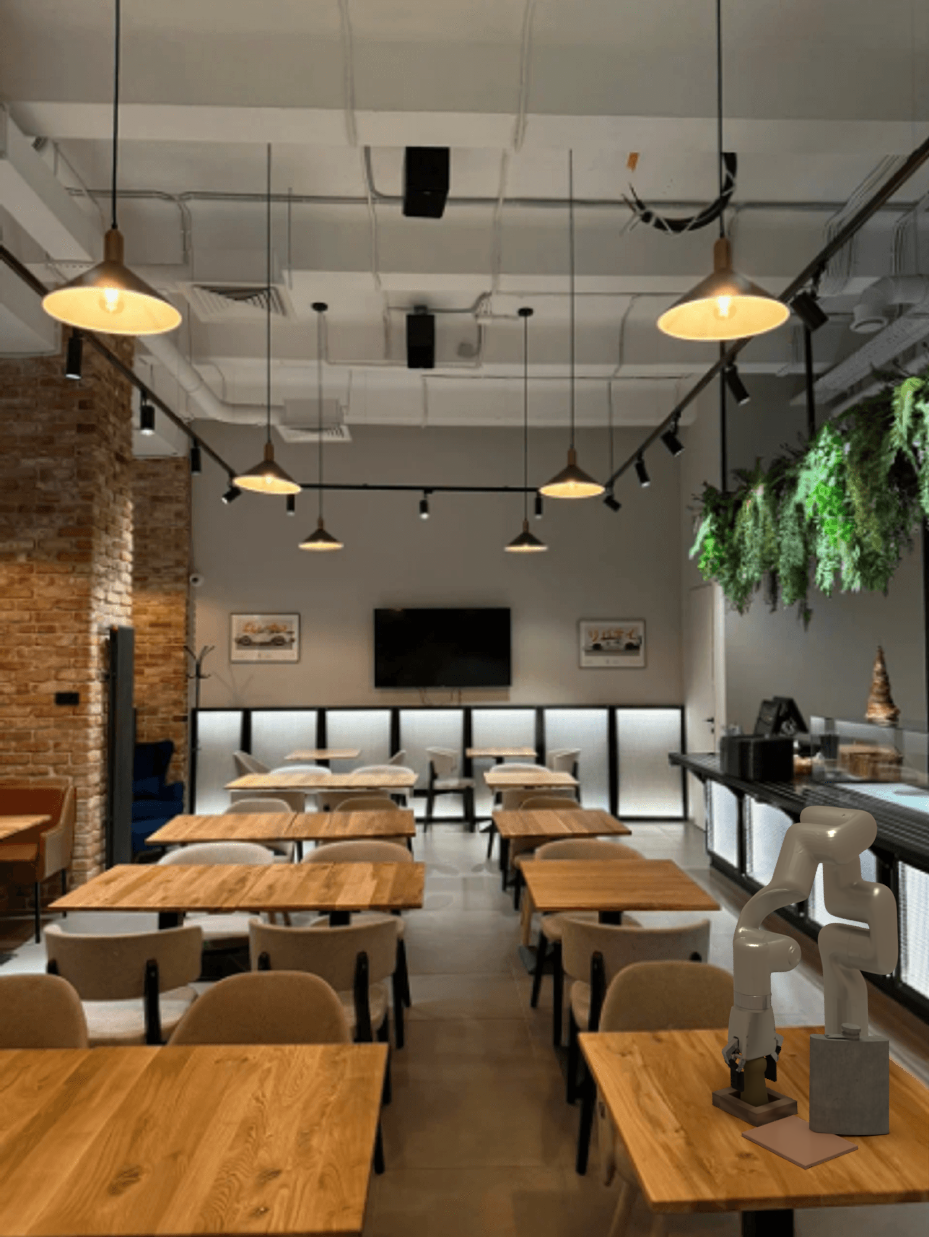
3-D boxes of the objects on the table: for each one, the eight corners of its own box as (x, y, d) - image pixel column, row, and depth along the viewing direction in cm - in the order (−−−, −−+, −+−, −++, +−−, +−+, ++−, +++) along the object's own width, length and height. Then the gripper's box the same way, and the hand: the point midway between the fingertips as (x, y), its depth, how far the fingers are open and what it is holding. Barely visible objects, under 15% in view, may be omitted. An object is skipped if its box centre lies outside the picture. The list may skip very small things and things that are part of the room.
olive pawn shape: (771, 1116, 191) (770, 1060, 192) (740, 1113, 192) (739, 1058, 193) (768, 1104, 197) (766, 1049, 198) (738, 1101, 198) (737, 1047, 199)
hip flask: (883, 1126, 187) (884, 1022, 189) (894, 1135, 183) (894, 1029, 185) (806, 1125, 186) (807, 1020, 188) (815, 1134, 182) (816, 1027, 184)
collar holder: (752, 1092, 203) (751, 1080, 203) (797, 1113, 193) (797, 1100, 193) (712, 1104, 197) (712, 1092, 197) (757, 1127, 186) (756, 1114, 187)
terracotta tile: (793, 1118, 190) (793, 1114, 191) (858, 1148, 178) (858, 1145, 178) (741, 1135, 183) (741, 1132, 183) (805, 1169, 170) (805, 1165, 170)
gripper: (766, 988, 204) (768, 1069, 203) (709, 1001, 195) (710, 1086, 194) (794, 998, 198) (796, 1082, 196) (737, 1011, 189) (738, 1100, 187)
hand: (753, 1084), depth 195 cm, fingers open, 9 cm apart
